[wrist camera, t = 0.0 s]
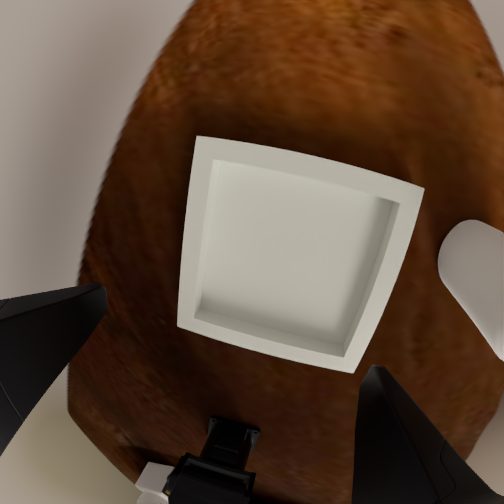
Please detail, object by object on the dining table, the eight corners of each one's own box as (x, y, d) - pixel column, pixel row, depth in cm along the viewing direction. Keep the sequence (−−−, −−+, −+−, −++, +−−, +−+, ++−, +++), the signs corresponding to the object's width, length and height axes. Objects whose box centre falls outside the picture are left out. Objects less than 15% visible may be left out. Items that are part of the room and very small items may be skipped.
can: (476, 202, 17) (573, 248, 6) (501, 260, 18) (579, 327, 7) (423, 250, 20) (495, 333, 9) (453, 303, 20) (511, 395, 9)
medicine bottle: (192, 482, 42) (172, 526, 31) (166, 477, 44) (145, 517, 33) (174, 466, 40) (150, 512, 29) (148, 460, 43) (123, 502, 32)
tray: (351, 355, 24) (353, 373, 22) (188, 312, 26) (177, 326, 24) (413, 184, 18) (424, 188, 16) (209, 137, 21) (196, 135, 18)
